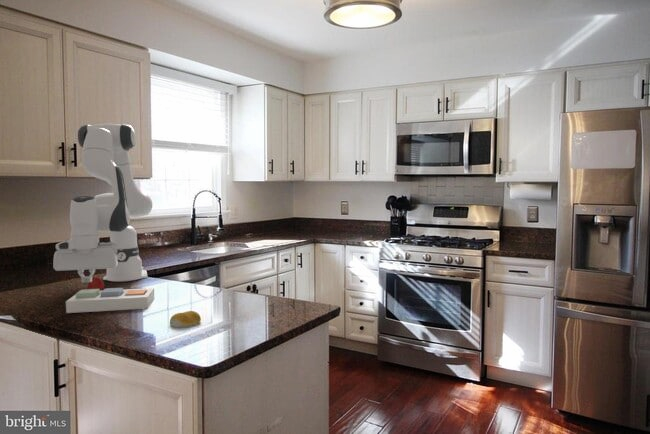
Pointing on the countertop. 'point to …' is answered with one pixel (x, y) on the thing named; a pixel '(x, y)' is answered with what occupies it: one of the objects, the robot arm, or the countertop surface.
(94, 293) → the key sage
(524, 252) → the countertop surface
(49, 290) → the countertop surface
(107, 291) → the key slate
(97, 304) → the keypad
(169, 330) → the countertop surface
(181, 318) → the bread roll
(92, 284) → the onion
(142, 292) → the key terracotta
